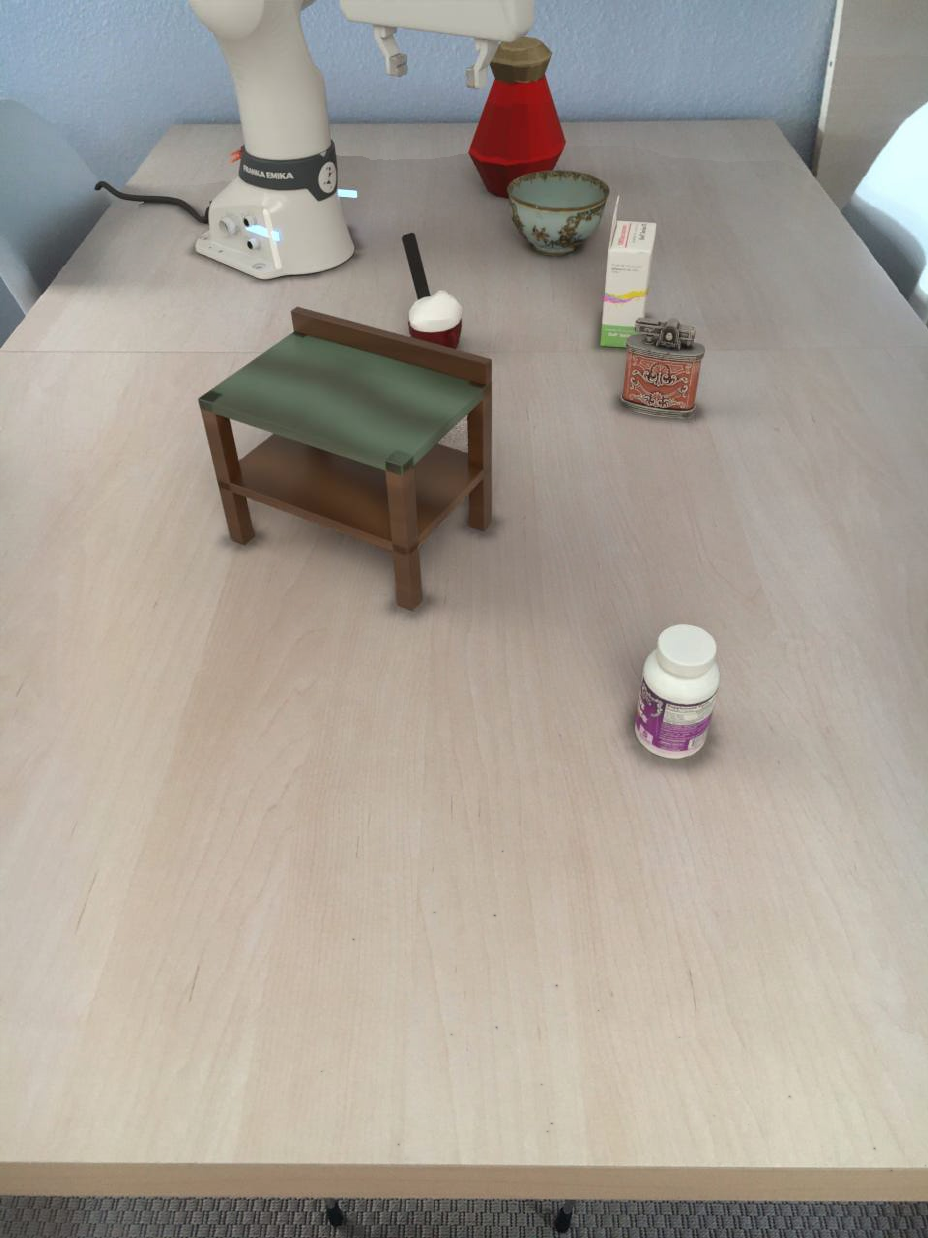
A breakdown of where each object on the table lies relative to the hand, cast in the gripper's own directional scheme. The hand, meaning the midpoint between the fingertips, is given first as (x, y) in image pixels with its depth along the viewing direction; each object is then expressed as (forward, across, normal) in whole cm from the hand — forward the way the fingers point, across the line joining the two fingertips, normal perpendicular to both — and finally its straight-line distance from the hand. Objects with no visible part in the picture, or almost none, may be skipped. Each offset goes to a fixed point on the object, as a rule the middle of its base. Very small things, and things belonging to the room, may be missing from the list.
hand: (436, 80), depth 99 cm
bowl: (+28, -1, +30) cm, 41 cm away
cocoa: (+28, 0, -2) cm, 29 cm away
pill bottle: (+29, +46, -43) cm, 70 cm away
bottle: (+28, -16, +47) cm, 57 cm away
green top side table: (+28, +12, -35) cm, 47 cm away
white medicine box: (+29, +18, +12) cm, 36 cm away
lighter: (+29, +28, -2) cm, 40 cm away
